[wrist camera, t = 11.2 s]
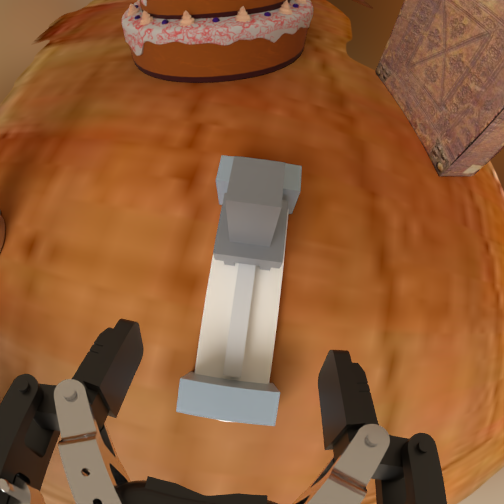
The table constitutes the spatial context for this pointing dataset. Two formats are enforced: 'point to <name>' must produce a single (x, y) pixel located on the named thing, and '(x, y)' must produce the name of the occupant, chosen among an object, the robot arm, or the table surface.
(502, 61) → the book
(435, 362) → the table surface
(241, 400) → the rail
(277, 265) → the block
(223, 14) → the cake
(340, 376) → the robot arm
